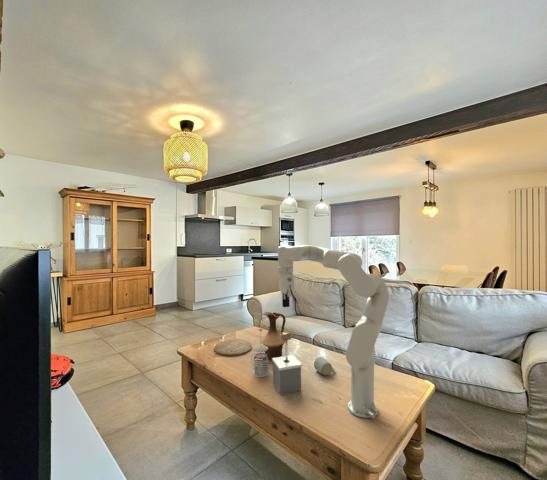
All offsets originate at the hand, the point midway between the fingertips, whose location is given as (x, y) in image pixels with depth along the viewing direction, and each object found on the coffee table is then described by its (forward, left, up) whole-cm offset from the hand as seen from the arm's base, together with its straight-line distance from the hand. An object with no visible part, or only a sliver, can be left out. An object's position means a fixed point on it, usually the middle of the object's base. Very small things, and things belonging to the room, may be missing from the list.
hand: (285, 306), depth 143 cm
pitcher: (+36, -5, -41) cm, 55 cm away
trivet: (+57, +17, -42) cm, 73 cm away
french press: (+18, +9, -41) cm, 46 cm away
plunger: (0, 0, -32) cm, 32 cm away
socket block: (+2, 0, -41) cm, 41 cm away
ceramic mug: (+7, -26, -41) cm, 49 cm away
